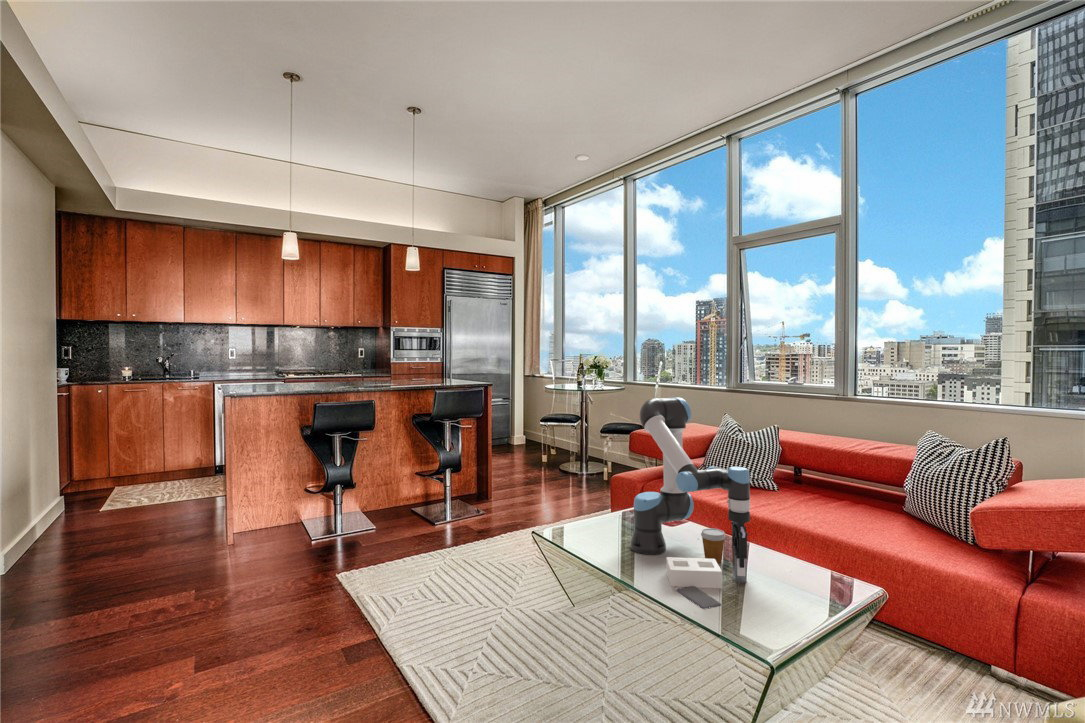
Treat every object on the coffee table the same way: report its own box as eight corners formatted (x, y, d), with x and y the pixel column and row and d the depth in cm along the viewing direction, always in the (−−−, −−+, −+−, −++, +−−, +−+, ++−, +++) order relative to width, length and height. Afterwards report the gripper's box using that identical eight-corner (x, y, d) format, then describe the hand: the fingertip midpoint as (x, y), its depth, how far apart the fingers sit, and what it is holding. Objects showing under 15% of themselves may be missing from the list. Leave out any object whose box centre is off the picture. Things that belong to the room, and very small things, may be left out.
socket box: (666, 572, 199) (666, 556, 199) (714, 574, 197) (714, 558, 197) (670, 586, 187) (670, 569, 187) (722, 588, 185) (721, 571, 185)
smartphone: (703, 608, 170) (675, 588, 184) (703, 611, 170) (675, 591, 184) (722, 603, 173) (693, 585, 186) (722, 606, 173) (693, 587, 187)
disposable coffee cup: (727, 566, 204) (727, 536, 204) (702, 565, 206) (702, 535, 206) (724, 557, 213) (723, 528, 213) (699, 556, 215) (699, 527, 215)
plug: (732, 577, 194) (731, 545, 194) (744, 577, 194) (743, 545, 194) (734, 582, 190) (734, 549, 190) (747, 582, 189) (747, 549, 189)
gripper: (723, 503, 201) (723, 563, 201) (734, 516, 184) (734, 582, 184) (743, 503, 200) (743, 564, 200) (756, 517, 183) (756, 583, 183)
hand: (739, 572), depth 192 cm, fingers open, 4 cm apart
